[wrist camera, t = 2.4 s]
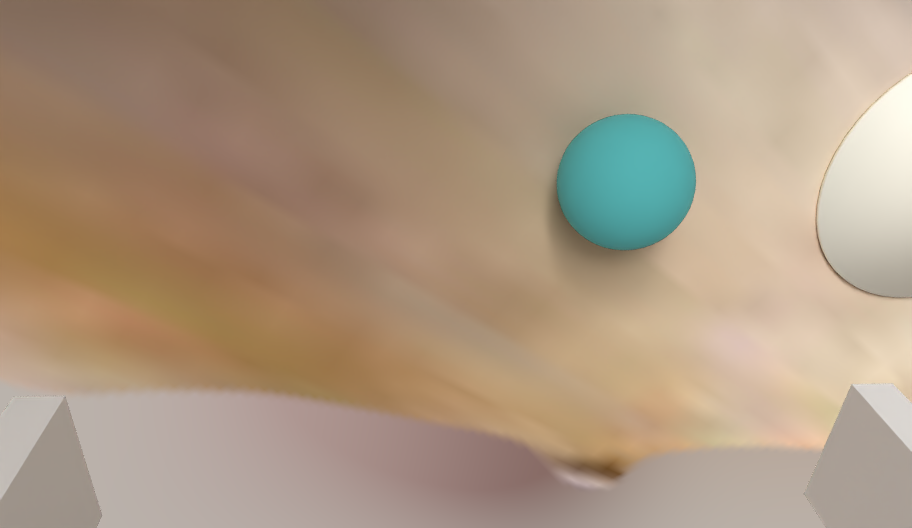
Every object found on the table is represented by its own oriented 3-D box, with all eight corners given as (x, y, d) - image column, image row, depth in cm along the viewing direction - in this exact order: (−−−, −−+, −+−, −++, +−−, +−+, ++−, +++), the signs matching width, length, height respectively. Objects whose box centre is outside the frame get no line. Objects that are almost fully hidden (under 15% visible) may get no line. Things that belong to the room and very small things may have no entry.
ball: (535, 210, 31) (561, 272, 26) (556, 91, 28) (589, 137, 24) (650, 216, 32) (695, 278, 27) (681, 101, 29) (738, 147, 24)
